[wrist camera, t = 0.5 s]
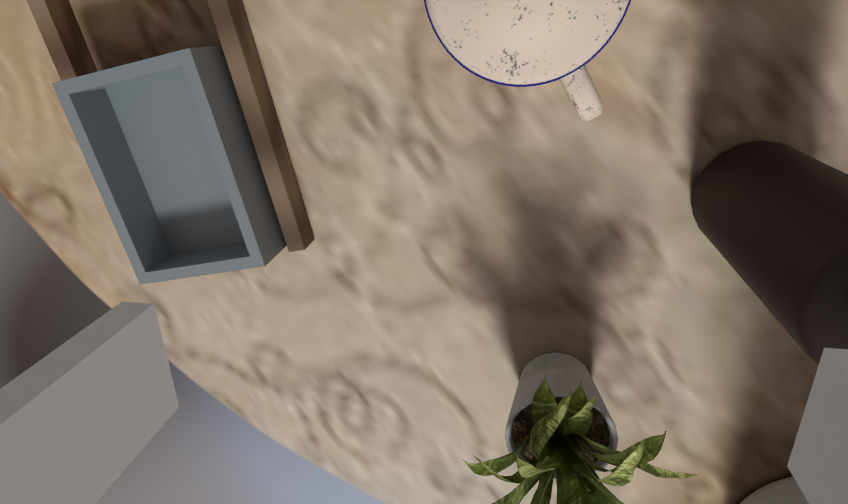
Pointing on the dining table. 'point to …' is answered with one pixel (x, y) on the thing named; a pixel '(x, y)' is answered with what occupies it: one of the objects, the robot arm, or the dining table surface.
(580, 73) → the teacup with lid
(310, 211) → the dining table surface
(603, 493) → the house plant
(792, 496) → the cylinder vase
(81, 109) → the box
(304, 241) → the bay
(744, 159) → the vinegar
